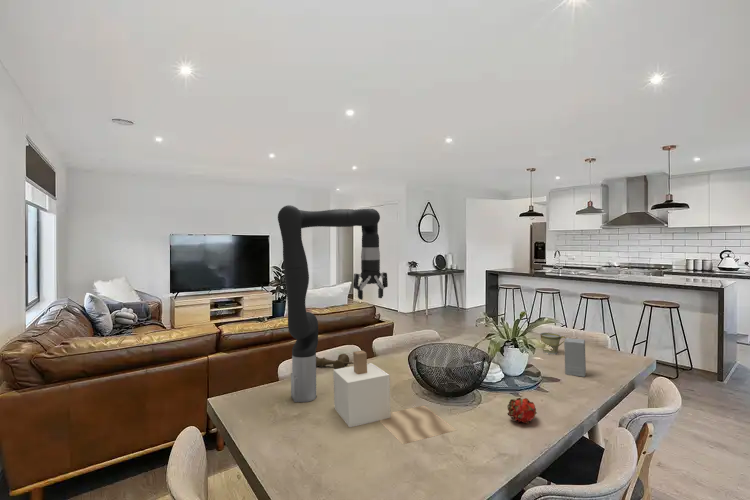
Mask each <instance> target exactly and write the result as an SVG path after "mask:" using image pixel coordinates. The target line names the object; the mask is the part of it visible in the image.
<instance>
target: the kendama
mask: <svg viewBox="0 0 750 500" xmlns="http://www.w3.org/2000/svg"><path fill="white" fill-rule="evenodd" d="M351 364H352V365H354V361H350V357H349V355H348V354H346V353H340V354H339V355H338V357H337V360H333V359H332V360H331V359H327V358H325V357H322V358H321V357H318V356H316V368H317V367H322V368H323V367H326V366H329V365H330V366H331V365H332V367H333V370H334V369H340V368H345V367H347V365H351Z"/></svg>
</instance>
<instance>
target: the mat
mask: <svg viewBox="0 0 750 500" xmlns="http://www.w3.org/2000/svg"><path fill="white" fill-rule="evenodd" d="M378 422H380V424H381V425H382V426H384V427H385V429H386V430H387V431H389V432H390V434H391V435H392V436H393V437H394V438H396V439H397V441H398V442H399V443H400V444H401V445H405V444H406V445H407V444H409V443H414V442H418V441H421V440H425V439H429V438H432V437H437V436H441V435H444V434H448V433H452V432H456V431H457V428H455V427H454V426H452V425H451V424H449V423H448V422H447V421H445V419H443V418H441V417H440V416H439V415H437V414H436V413H434V412H433V411H432V410H431V409H429V408H428V407H427V406H425V405H420V406H415V407H412V408H411V407H410V408H406V409H401V410H397V411H392V412H391V418H387V419H383V420H379V421H378Z"/></svg>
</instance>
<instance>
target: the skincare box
mask: <svg viewBox="0 0 750 500" xmlns="http://www.w3.org/2000/svg"><path fill="white" fill-rule="evenodd" d="M563 341H564V342H563V344H564V345H563V347H564V373H565V375H567V376H568V375H569V376H574V377H575V376H576V377H583V378H585V377H586V374H587V373H586V372H587V363H586V339H581V338H570V337H569V338H568V337H566V339H565V338H564V340H563Z"/></svg>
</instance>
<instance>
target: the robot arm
mask: <svg viewBox="0 0 750 500" xmlns="http://www.w3.org/2000/svg"><path fill="white" fill-rule="evenodd" d="M380 220H381V216H380V212H379V211H377V209H374V208H359V209H349V208H341V209H340V208H339V209H336V208H335V209H326V210H318V211H317V210H314V211H312V210H304V209H303V210H301V209H299V208H297V207H296V206H294V205H289V204H288V205H284V206H283V207H282V208H280V210H279V211H278V213H277V222H278V226H279V230H280V235H281V241H282V261H283V273H284V282H285V289H286V298H287V299H286V300H287V301H286V302H287V328H288V332H289V334H290V336H291V337H292V338H293V339H295V343H294V345H292V348H291V349H292V350H291V362H292V363H291V365H292V366H291V370H292V371H291V373H290V394H291V395H290V397H291V400H293V402H294V403H307V402H312V401H314V400H316V398H317V367H316V357H317V347H318V343H319V322H318V318H317V316H316V315H315V314H314V313H312V312H310V311H307V307H306V306H307V305H306V298H307V292H308V288H309V281H310V274H309V273H310V272H309V263H308V260H307V255H306V251H305V248H304V244H303V240H302V239H303V238H302V229H306V228H313V227H314V228H315V227H316V228H317V227H319V228H320V227H324V228H327V227H328V228H330V227H331V228H338V227H339V228H348V227H349V228H352V227H361V252H360V255H361V256H360V260H361V261H360V263H361V264H360V266H361V267H360V268H361V273H353V284H352V285H353V286H352V287H353V289H355V290H357V298H358V299H359V300H363V299H364V298H363V297H364V294H363V293H364V292H363V289H364V288H365V287H366V285H372V284H374V285H376V286H377V287H378V289H377V292H378V293H377V294H378V298H379V299H383V297H384V289H385V288H388V286H389V285H388V273H387V272H384V271H383V272H380V270H381V267H380V266H381V252H380V236H379V232H378V231H379V230H378V229H379V228H378V227H379V226H378V224H379V222H380ZM360 278H361V281H360V282H359V280H360ZM380 278H381V279H382V280H380Z"/></svg>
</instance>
